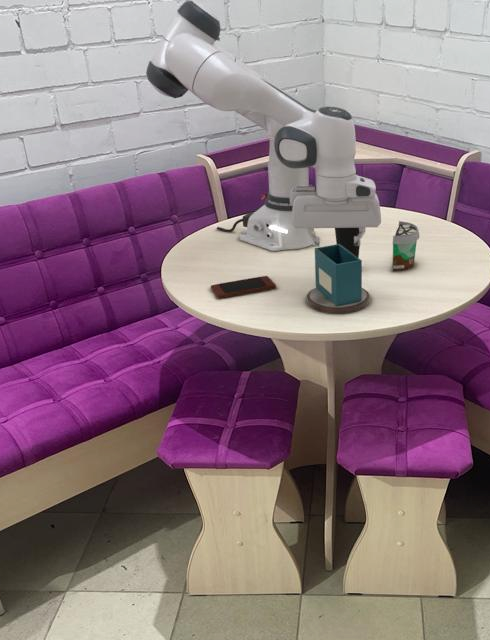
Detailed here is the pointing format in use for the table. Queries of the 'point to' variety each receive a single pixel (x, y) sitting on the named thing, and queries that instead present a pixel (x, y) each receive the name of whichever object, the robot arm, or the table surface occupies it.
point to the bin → (338, 274)
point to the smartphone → (242, 286)
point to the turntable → (327, 306)
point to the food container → (404, 246)
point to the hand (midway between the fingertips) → (336, 245)
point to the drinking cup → (347, 239)
